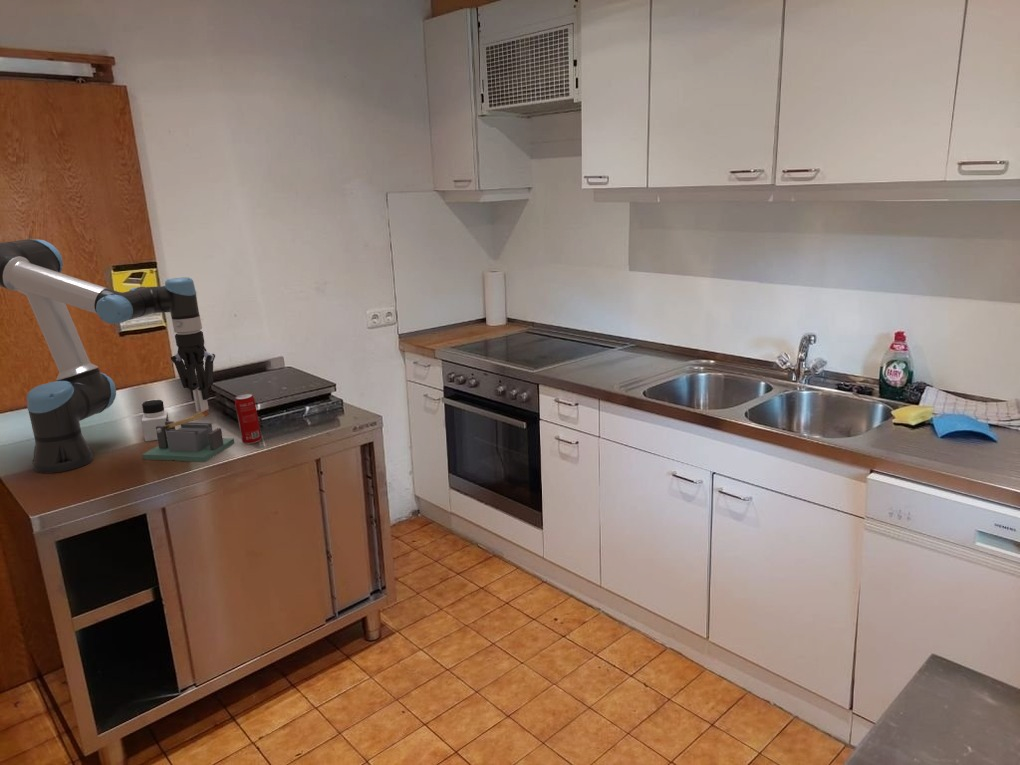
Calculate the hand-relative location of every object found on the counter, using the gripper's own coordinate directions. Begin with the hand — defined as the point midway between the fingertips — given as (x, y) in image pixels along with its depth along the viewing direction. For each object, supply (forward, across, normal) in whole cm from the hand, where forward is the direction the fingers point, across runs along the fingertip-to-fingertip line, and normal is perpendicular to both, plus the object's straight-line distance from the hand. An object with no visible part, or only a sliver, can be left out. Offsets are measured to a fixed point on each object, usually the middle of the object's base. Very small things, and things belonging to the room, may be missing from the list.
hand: (202, 410), depth 220 cm
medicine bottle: (+12, -25, +11) cm, 30 cm away
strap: (+4, -6, 0) cm, 7 cm away
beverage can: (+14, +8, +10) cm, 19 cm away
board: (+13, -7, 0) cm, 14 cm away
